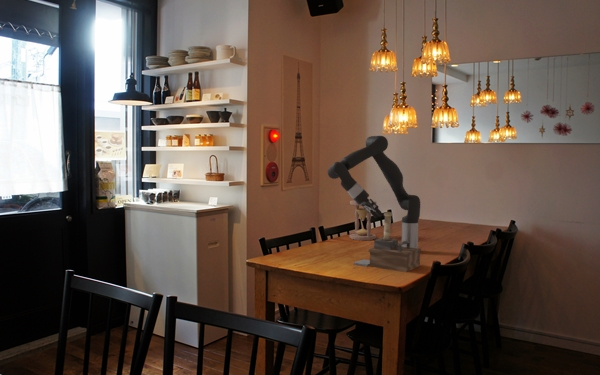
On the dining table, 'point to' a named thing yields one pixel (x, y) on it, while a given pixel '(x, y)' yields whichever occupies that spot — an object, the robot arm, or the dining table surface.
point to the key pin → (387, 226)
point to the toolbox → (394, 255)
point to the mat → (362, 263)
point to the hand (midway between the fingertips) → (379, 216)
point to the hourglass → (361, 233)
